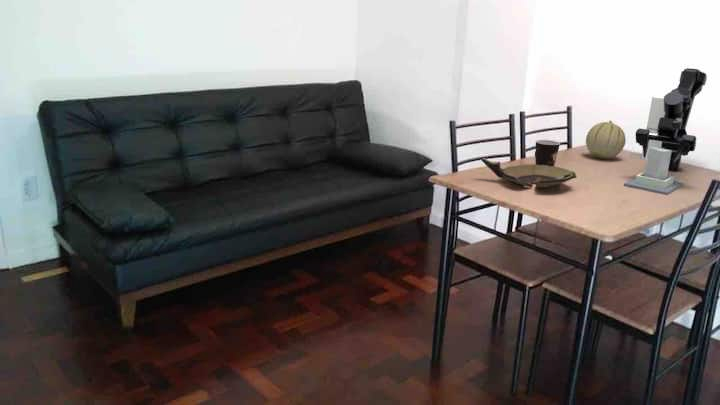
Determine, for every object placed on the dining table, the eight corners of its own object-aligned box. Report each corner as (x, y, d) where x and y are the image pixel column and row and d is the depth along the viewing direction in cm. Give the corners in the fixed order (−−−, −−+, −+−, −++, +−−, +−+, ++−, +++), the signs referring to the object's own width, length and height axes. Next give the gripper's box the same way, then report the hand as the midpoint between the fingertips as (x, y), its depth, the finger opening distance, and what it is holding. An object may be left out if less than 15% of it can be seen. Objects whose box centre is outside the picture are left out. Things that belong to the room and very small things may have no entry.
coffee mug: (547, 165, 232) (550, 139, 228) (561, 171, 224) (565, 144, 221) (520, 166, 228) (524, 140, 225) (534, 172, 220) (537, 145, 217)
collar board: (641, 176, 221) (643, 167, 220) (682, 184, 212) (684, 175, 211) (623, 185, 208) (625, 176, 207) (667, 194, 199) (669, 185, 198)
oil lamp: (561, 200, 190) (565, 176, 187) (473, 182, 206) (475, 160, 203) (581, 185, 207) (585, 163, 205) (499, 169, 223) (501, 149, 221)
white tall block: (637, 156, 252) (648, 95, 244) (653, 156, 252) (665, 96, 245) (647, 160, 245) (659, 98, 237) (663, 160, 246) (676, 98, 238)
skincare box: (665, 184, 208) (672, 150, 204) (656, 185, 206) (663, 151, 203) (651, 180, 213) (658, 146, 210) (642, 180, 212) (648, 147, 208)
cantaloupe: (584, 160, 242) (589, 122, 237) (582, 152, 255) (588, 116, 251) (623, 164, 238) (630, 126, 233) (620, 156, 251) (626, 120, 247)
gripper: (641, 105, 211) (628, 141, 206) (701, 112, 201) (689, 150, 196) (642, 124, 219) (630, 159, 214) (700, 132, 209) (688, 169, 204)
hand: (658, 159), depth 207 cm, fingers open, 9 cm apart
